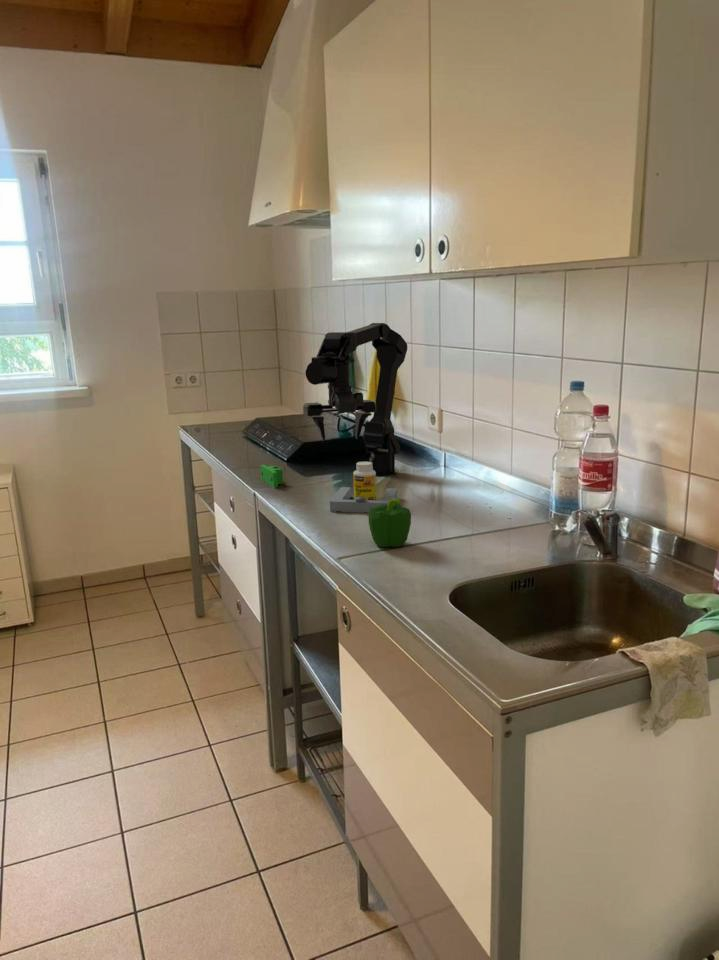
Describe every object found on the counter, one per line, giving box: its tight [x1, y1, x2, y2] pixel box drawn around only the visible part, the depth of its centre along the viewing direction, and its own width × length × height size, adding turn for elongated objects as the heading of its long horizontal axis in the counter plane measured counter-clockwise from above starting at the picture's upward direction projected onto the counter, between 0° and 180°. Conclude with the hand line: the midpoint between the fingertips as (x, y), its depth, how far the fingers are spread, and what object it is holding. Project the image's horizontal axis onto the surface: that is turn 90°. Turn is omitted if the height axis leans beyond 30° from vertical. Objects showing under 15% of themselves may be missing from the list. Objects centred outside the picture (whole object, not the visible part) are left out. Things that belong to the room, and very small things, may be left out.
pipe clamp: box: [260, 464, 284, 488], centre depth 202 cm, size 11×4×5 cm, turn 25°
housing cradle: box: [329, 486, 398, 513], centre depth 178 cm, size 14×14×3 cm
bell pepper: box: [367, 498, 412, 548], centre depth 147 cm, size 8×8×10 cm
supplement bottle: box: [352, 461, 377, 500], centre depth 179 cm, size 6×6×10 cm
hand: (340, 440), depth 193 cm, fingers open, 9 cm apart
